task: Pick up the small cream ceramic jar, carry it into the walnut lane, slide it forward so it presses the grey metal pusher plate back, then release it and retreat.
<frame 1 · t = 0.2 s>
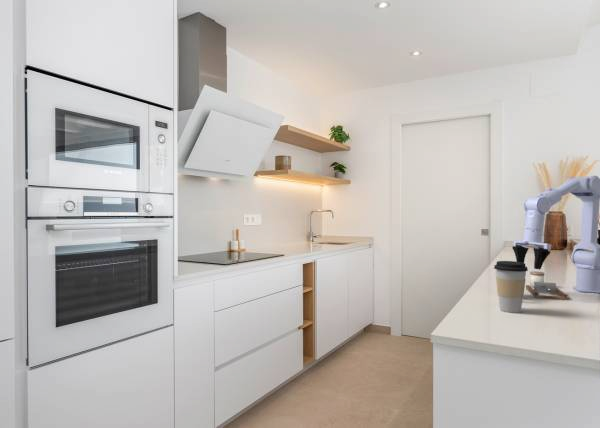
hand: (528, 267, 145), 11 cm above the counter, tool pointing down, fingers open, 7 cm apart
coffee cup: (509, 311, 126), on the counter
mug: (509, 299, 143), on the counter
lane: (545, 293, 150), on the counter
pusher plate: (547, 289, 148), point 2 cm above the counter, slide at 0.0 cm
jar: (536, 287, 162), on the counter
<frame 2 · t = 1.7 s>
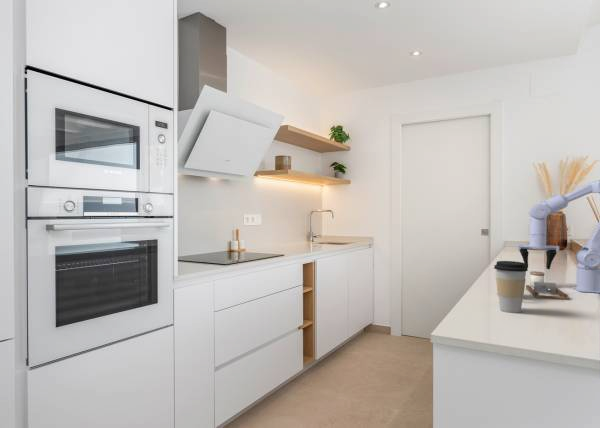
hand: (537, 268, 162), 8 cm above the counter, tool pointing down, fingers open, 7 cm apart
nothing on the counter moved.
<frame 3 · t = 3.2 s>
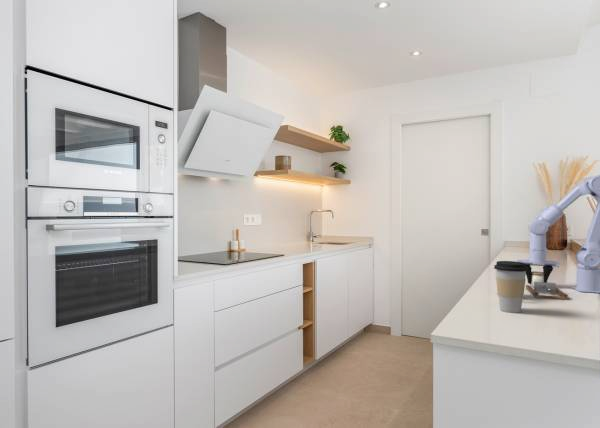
hand: (537, 283, 162), 1 cm above the counter, tool pointing down, fingers closed on jar, 5 cm apart
jar: (536, 287, 162), on the counter, touching gripper
everything else where it was.
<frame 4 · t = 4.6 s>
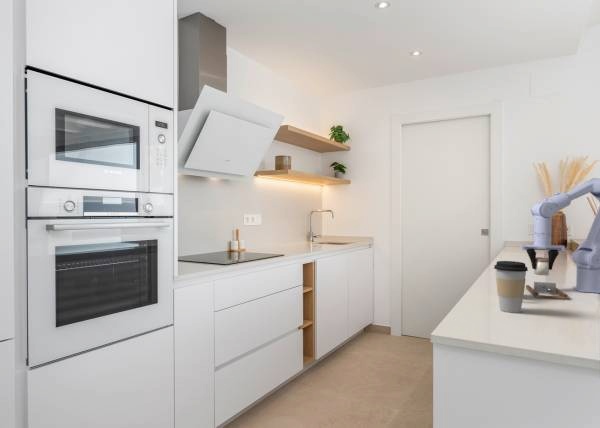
hand: (541, 269, 155), 8 cm above the counter, tool pointing down, fingers closed on jar, 5 cm apart
jar: (541, 273, 156), point 6 cm above the counter, touching gripper
everything else where it was.
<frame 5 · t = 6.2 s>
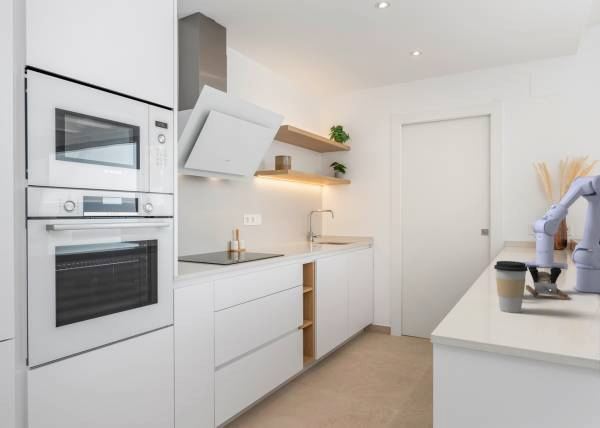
hand: (544, 287, 152), 2 cm above the counter, tool pointing down, fingers closed on jar, 5 cm apart
pusher plate: (548, 290, 147), point 2 cm above the counter, slide at 1.1 cm, touching gripper
jar: (541, 288, 155), point 1 cm above the counter, tilted 28°, touching gripper
everything else where it was.
when the fingers open (2 cm above the counter, at t = 7.9 s): jar drops 1 cm, on the counter.
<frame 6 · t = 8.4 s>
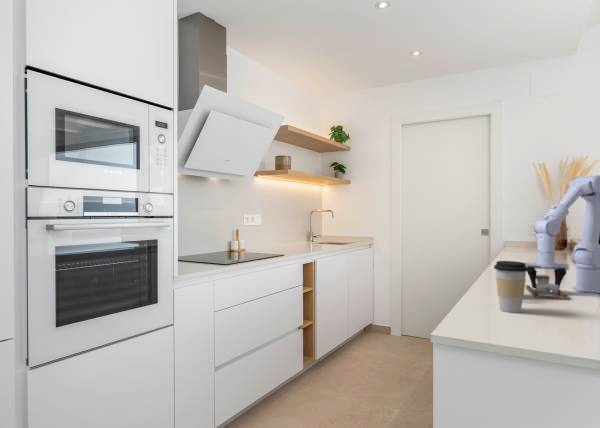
hand: (545, 288, 150), 2 cm above the counter, tool pointing down, fingers open, 7 cm apart
pusher plate: (549, 291, 145), point 2 cm above the counter, slide at 3.0 cm
jar: (541, 291, 154), on the counter
everything else where it was.
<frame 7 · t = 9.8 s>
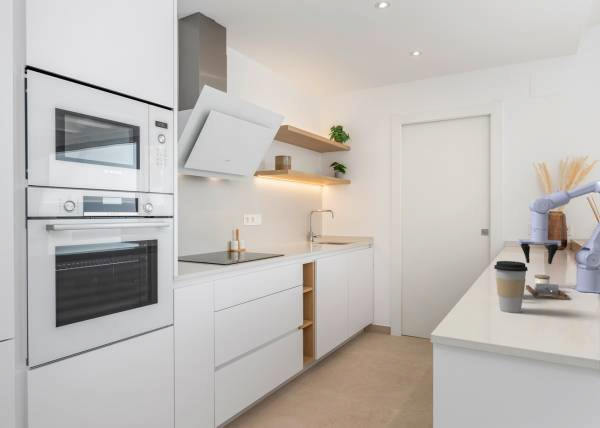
hand: (538, 263, 160), 10 cm above the counter, tool pointing down, fingers open, 7 cm apart
nothing on the counter moved.
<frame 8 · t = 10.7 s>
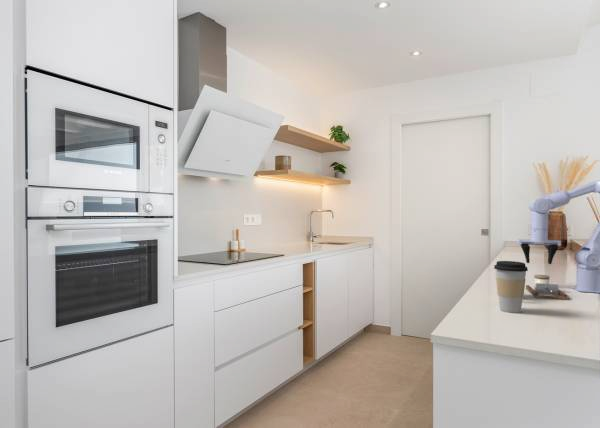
hand: (538, 263, 160), 10 cm above the counter, tool pointing down, fingers open, 7 cm apart
nothing on the counter moved.
at the end: jar inside the target area (4.6 cm from its centre), on the counter; pusher plate slide at 3.0 cm; jar tilted 1° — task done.
